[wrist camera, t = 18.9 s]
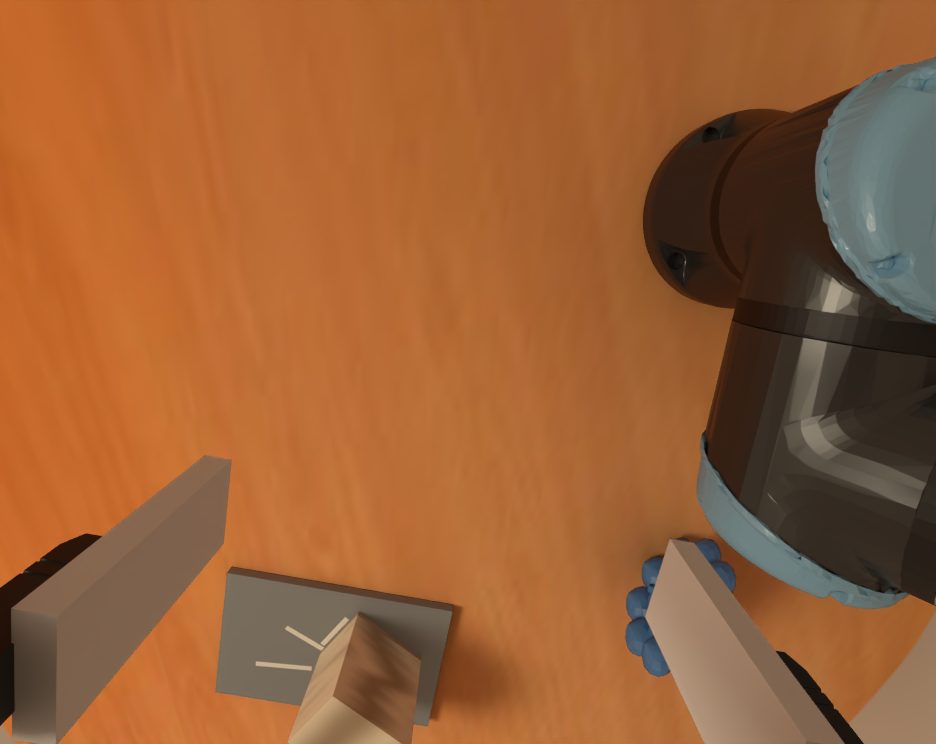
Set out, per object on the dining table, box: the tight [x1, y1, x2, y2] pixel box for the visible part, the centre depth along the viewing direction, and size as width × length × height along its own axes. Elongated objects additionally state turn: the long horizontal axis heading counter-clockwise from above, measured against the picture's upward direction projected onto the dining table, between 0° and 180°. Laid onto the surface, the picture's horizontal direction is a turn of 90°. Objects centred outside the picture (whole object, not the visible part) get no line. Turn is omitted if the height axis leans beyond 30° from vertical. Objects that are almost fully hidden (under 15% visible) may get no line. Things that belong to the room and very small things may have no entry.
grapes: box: [625, 538, 736, 677], centre depth 46 cm, size 12×7×12 cm, turn 137°
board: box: [215, 567, 453, 726], centre depth 53 cm, size 22×14×1 cm, turn 79°
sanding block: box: [288, 612, 422, 744], centre depth 48 cm, size 8×6×10 cm
